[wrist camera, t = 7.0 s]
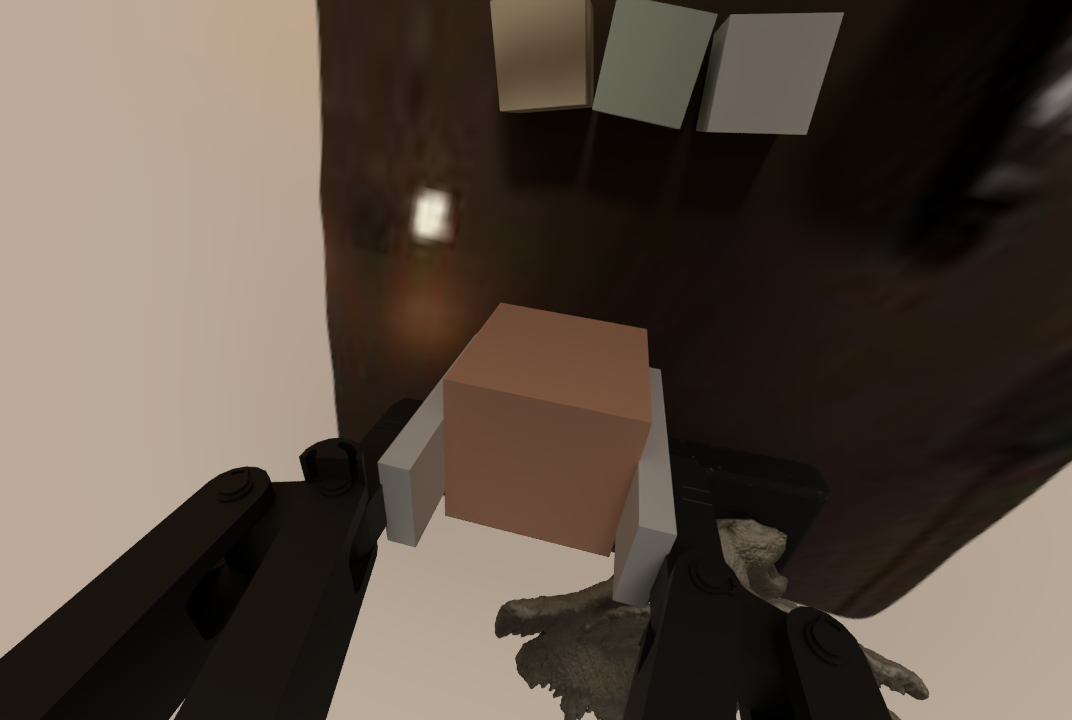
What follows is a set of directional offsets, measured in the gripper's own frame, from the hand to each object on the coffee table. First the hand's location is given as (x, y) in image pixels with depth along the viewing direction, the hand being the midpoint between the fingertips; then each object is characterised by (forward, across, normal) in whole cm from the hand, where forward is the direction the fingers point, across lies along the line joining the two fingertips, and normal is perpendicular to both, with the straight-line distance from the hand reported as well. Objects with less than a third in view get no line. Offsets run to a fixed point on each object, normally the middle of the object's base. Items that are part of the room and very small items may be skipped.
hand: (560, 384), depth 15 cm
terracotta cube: (0, 0, 0) cm, 0 cm away
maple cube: (+20, -5, +11) cm, 23 cm away
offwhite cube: (+20, +7, +11) cm, 24 cm away
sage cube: (+20, +1, +11) cm, 23 cm away
